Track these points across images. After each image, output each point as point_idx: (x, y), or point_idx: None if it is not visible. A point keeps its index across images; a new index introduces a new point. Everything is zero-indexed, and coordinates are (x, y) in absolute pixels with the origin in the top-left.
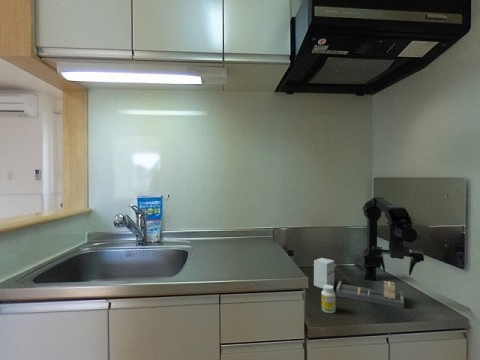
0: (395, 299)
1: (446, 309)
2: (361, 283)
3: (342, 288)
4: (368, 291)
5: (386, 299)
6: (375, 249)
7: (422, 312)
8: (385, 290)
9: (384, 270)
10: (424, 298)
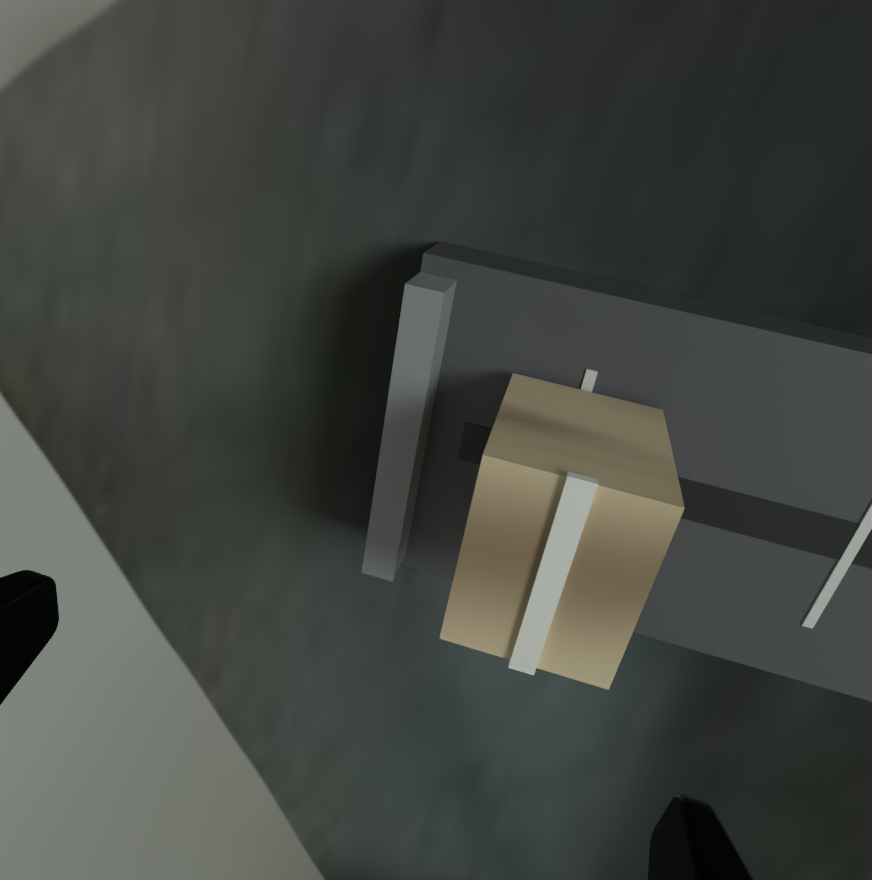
0: (505, 374)
1: (10, 342)
2: (758, 846)
3: None
4: (843, 576)
5: (646, 345)
6: None
7: (239, 186)
8: (649, 452)
9: (698, 837)
10: (172, 556)
